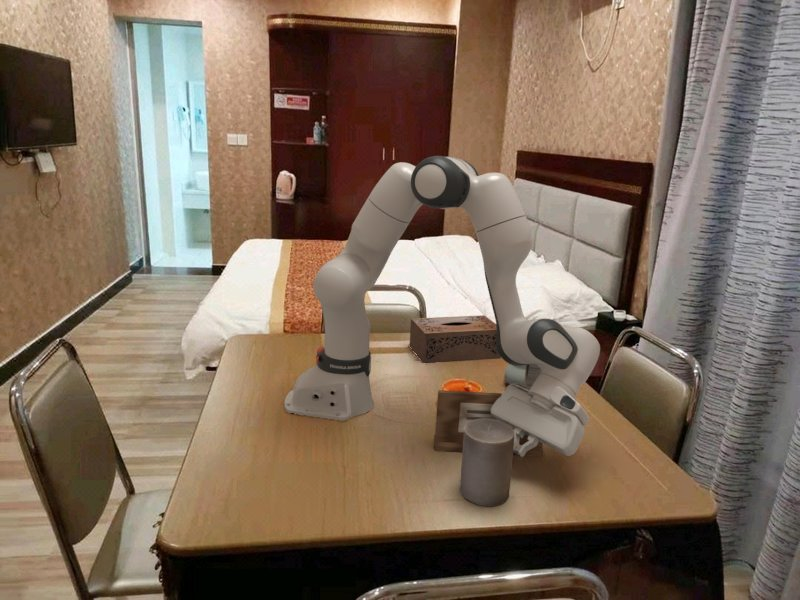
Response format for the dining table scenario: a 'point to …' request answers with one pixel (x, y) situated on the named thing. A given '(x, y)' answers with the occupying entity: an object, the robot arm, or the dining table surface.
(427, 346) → the tissue box cover
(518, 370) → the air freshener
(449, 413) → the label placard
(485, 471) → the pillar candle
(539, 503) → the dining table surface
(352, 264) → the robot arm
